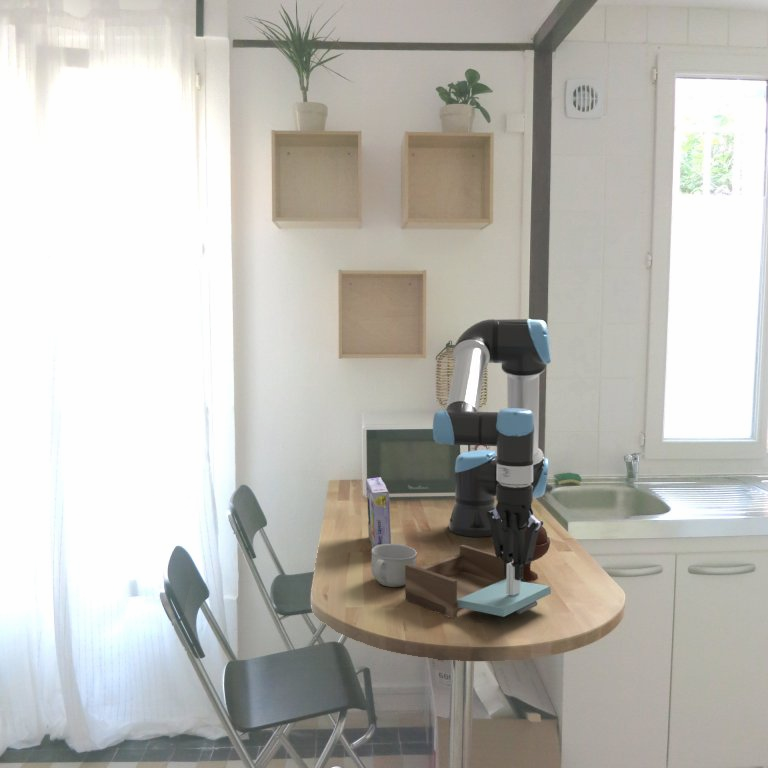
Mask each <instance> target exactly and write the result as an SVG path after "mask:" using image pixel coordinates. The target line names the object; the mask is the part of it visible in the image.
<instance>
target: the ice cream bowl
mask: <svg viewBox="0 0 768 768" xmlns="http://www.w3.org/2000/svg"><path fill="white" fill-rule="evenodd" d="M528 525H529V522H528V523H527V524H526V531H525V539H526V535H527V531H528V529H529V527H528ZM550 544H551V539H550V537H548V532H547V530H546V528H545V527H544V526H543V525H542V527H541V528H540V530H539V533H538V537H537V541H536V546H535V550H534V554H533V559H532V561H531V562H530V563H527V564H525V565H523V579H521V580H520V581H523V582H531V581H532V582H534V581H537V580H538V579H539V576H538V573H537V572H536V571H533V570H531V564H532V562H535V561H536V560H539V559H541V558H543V557H544V556H545V555H546V553H548V551H549V549H550Z"/></svg>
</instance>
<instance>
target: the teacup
mask: <svg viewBox="0 0 768 768" xmlns="http://www.w3.org/2000/svg"><path fill="white" fill-rule="evenodd" d="M417 555H418V552H417V550H416V549H415V548H413V547H410V546H407V545H406V544H400V543H391V544H382V545H377V546H375V547H373V548H371V574H372V576H373V578H374V579H375V580H376V581H377V582H378V583H379V584H380V585H382V586H386V587H389V588H397V587H398V588H399V587H403V586H405V565H407V564H411V565H414V566H417V563H416V562H417Z"/></svg>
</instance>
